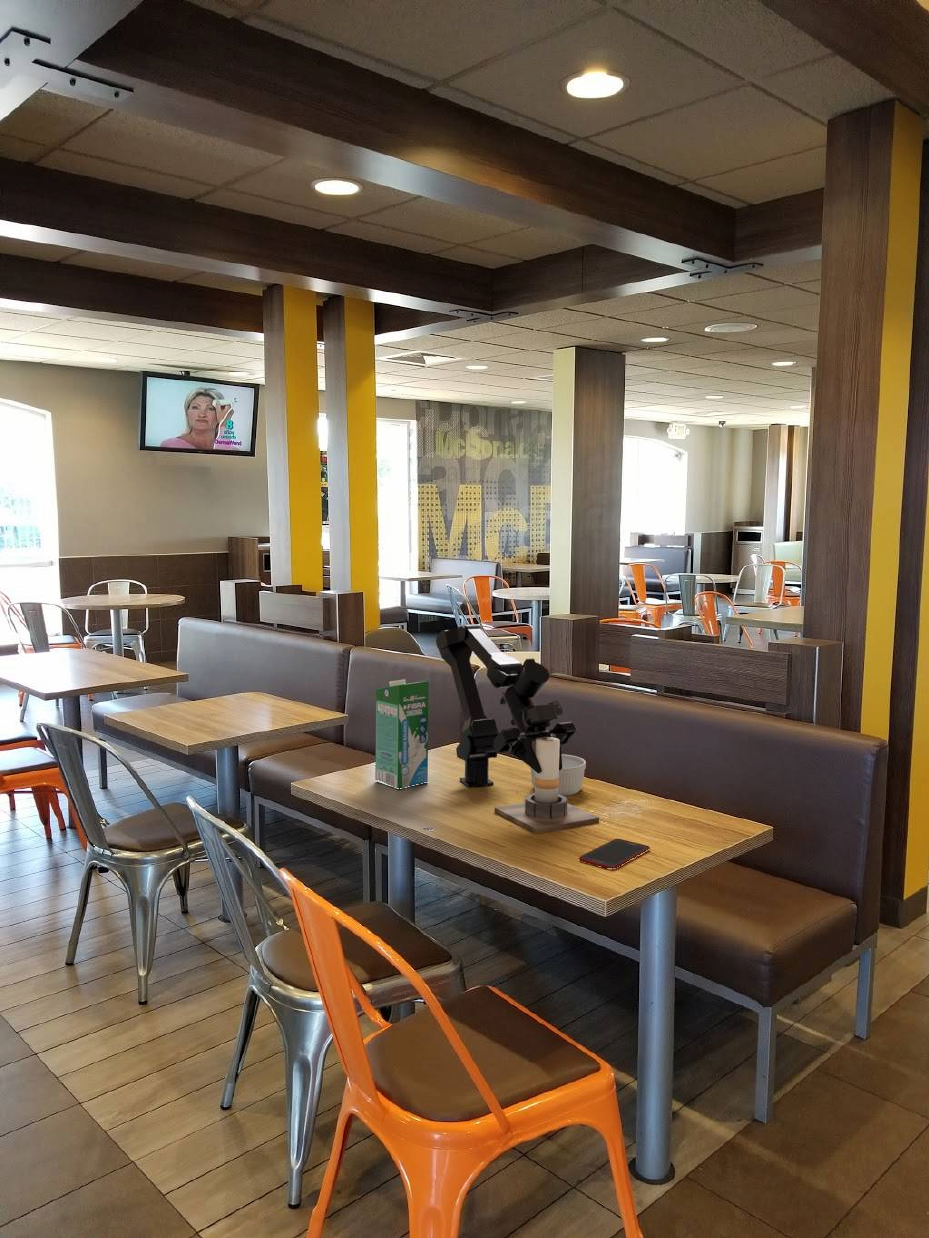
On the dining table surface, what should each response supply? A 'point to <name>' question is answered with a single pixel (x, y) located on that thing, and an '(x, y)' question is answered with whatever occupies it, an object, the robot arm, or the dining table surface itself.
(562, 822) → the roll holder stand
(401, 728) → the milk carton
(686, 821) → the dining table surface
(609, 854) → the cell phone
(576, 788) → the ramekin
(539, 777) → the paper roll
